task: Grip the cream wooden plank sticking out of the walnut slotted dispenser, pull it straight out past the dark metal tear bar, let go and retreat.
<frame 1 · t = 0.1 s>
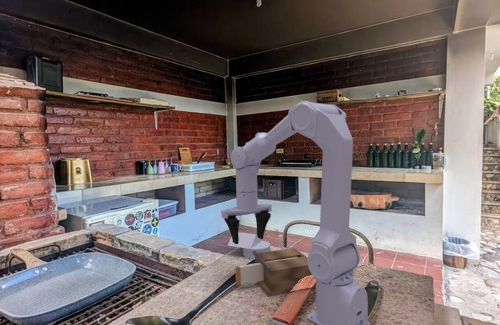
hand: (248, 240, 78), 10 cm above the table, fingers open, 7 cm apart
wedge on round base: (251, 254, 95), on the table
cream wooden plank: (268, 270, 73), point 3 cm above the table, slide at 0.0 cm
ticket dispenser: (282, 281, 75), on the table
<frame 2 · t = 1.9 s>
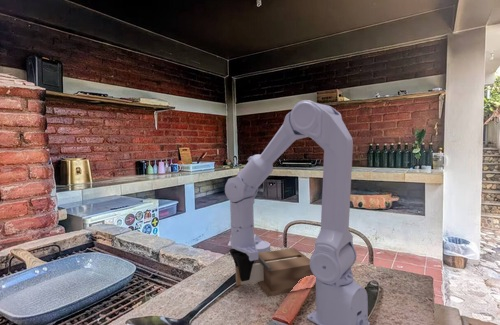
hand: (243, 278, 71), 2 cm above the table, fingers closed on cream wooden plank
cream wooden plank: (268, 270, 73), point 3 cm above the table, slide at 0.0 cm, touching gripper
everything else where it was.
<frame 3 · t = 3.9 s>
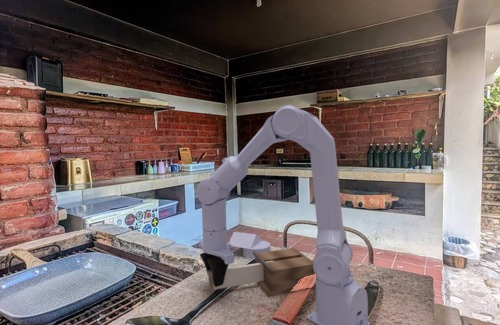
hand: (216, 283, 69), 2 cm above the table, fingers closed on cream wooden plank, 2 cm apart
cream wooden plank: (242, 274, 71), point 3 cm above the table, slide at 6.8 cm, touching gripper
everything else where it was.
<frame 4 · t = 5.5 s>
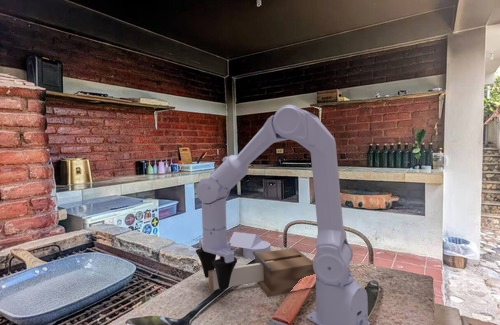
hand: (216, 282, 69), 3 cm above the table, fingers open, 7 cm apart
cream wooden plank: (242, 274, 71), point 3 cm above the table, slide at 6.8 cm
everything else where it was.
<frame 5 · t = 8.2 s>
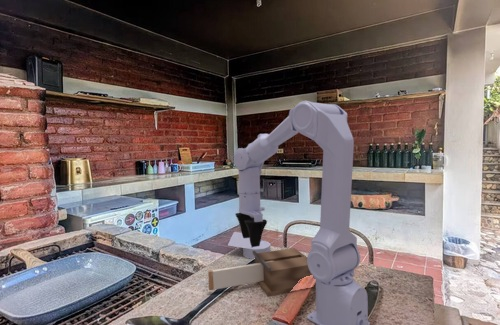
hand: (250, 241, 78), 9 cm above the table, fingers open, 7 cm apart
nothing on the table moved.
at the end: cream wooden plank slide at 6.8 cm; the gripper is holding nothing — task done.
